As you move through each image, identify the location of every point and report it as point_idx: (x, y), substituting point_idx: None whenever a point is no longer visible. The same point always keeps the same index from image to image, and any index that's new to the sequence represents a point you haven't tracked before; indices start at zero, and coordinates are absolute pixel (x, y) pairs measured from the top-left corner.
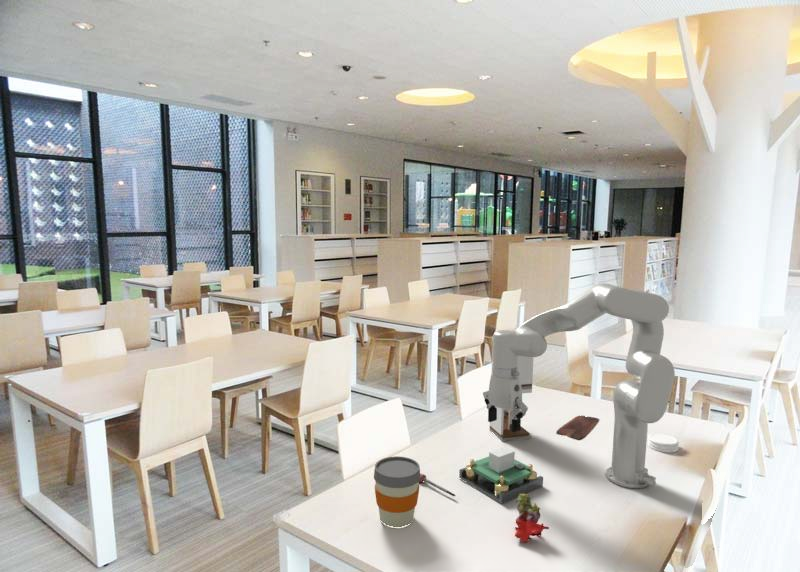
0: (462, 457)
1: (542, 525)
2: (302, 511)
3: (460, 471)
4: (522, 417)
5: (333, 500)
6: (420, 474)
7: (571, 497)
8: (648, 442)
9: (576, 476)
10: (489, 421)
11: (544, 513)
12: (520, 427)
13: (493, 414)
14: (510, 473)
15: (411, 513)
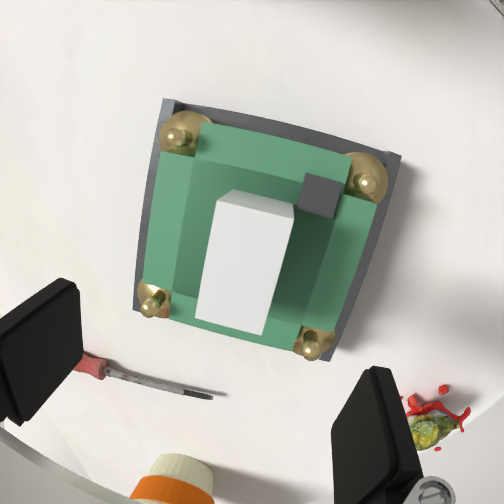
0: (67, 165)
1: (460, 421)
2: (95, 480)
3: (138, 308)
4: (448, 484)
5: (87, 457)
6: (91, 374)
7: (477, 168)
8: None
9: (434, 22)
10: (77, 358)
11: (439, 305)
12: (394, 381)
13: (44, 358)
14: (309, 270)
15: (211, 491)
